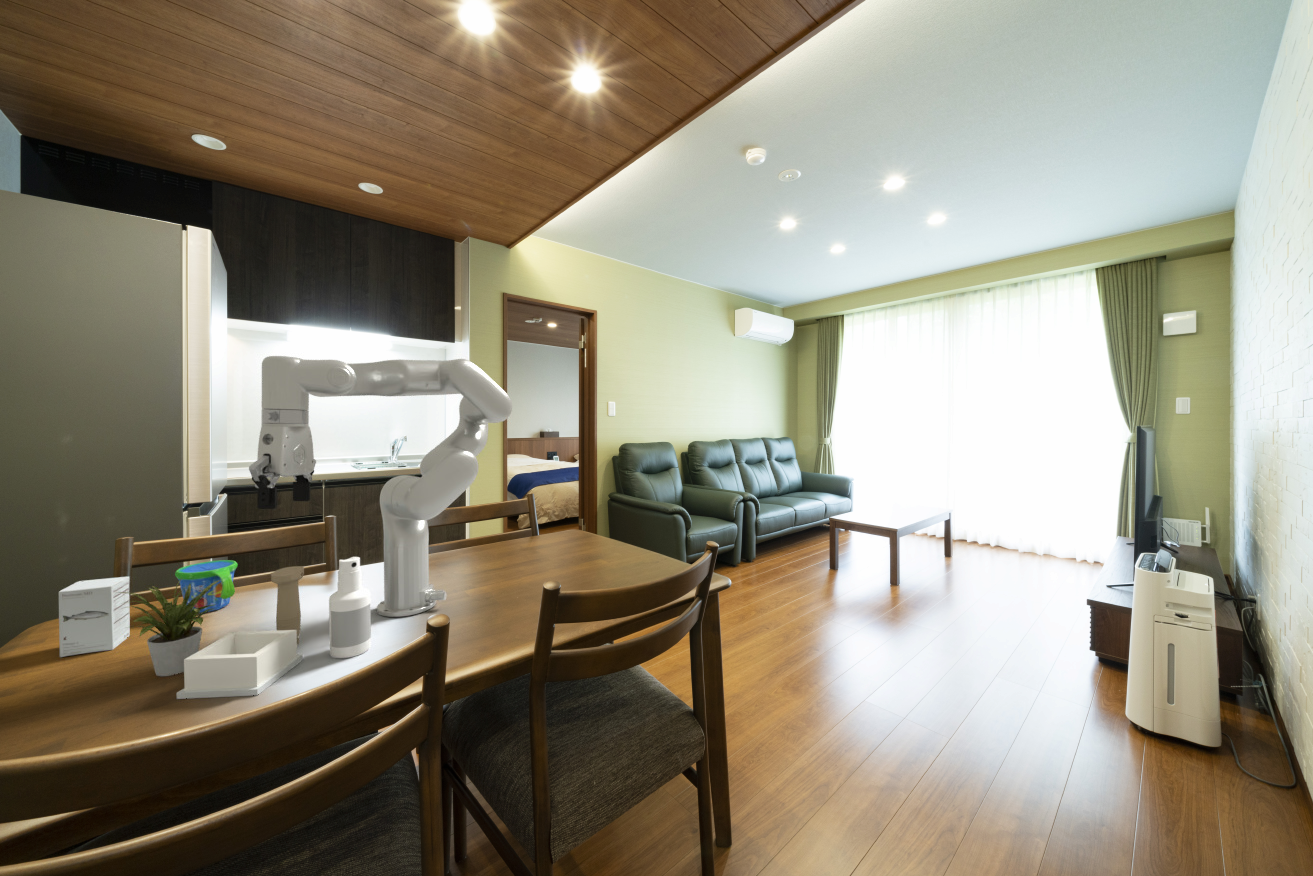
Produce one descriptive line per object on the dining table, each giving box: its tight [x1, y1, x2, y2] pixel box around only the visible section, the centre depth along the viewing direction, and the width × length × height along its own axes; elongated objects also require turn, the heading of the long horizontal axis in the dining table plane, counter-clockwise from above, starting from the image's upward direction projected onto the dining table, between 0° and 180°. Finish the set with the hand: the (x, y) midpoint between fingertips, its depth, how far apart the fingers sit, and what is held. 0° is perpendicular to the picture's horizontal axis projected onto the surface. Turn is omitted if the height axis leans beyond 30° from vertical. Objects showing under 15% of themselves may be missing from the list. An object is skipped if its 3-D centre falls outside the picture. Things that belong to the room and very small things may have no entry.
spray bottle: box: [328, 556, 372, 659], centre depth 95 cm, size 7×7×18 cm
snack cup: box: [174, 559, 238, 615], centre depth 115 cm, size 16×10×10 cm
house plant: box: [118, 578, 220, 677], centre depth 87 cm, size 14×14×16 cm
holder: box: [176, 629, 304, 700], centre depth 85 cm, size 12×12×6 cm
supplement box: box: [58, 576, 131, 658], centre depth 96 cm, size 7×7×13 cm
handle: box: [270, 565, 305, 646], centre depth 97 cm, size 5×6×15 cm
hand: (285, 504), depth 98 cm, fingers open, 9 cm apart
